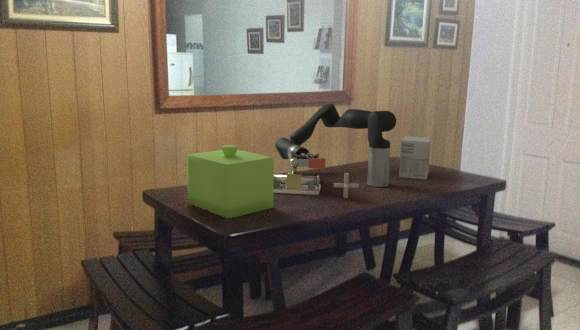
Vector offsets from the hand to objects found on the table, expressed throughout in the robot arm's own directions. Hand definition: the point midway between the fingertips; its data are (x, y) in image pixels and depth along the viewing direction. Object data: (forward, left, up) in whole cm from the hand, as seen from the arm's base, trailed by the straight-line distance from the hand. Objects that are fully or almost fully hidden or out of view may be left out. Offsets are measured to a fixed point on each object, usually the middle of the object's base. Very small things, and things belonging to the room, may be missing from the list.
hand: (315, 161), depth 215 cm
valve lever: (+3, +2, -2) cm, 4 cm away
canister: (+30, +30, -13) cm, 44 cm away
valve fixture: (+8, +2, -12) cm, 15 cm away
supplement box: (-47, -38, -13) cm, 61 cm away
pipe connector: (-14, +10, -13) cm, 21 cm away
